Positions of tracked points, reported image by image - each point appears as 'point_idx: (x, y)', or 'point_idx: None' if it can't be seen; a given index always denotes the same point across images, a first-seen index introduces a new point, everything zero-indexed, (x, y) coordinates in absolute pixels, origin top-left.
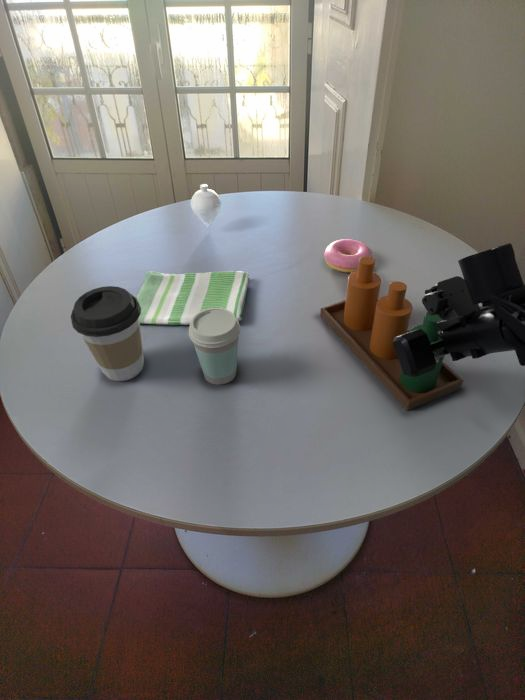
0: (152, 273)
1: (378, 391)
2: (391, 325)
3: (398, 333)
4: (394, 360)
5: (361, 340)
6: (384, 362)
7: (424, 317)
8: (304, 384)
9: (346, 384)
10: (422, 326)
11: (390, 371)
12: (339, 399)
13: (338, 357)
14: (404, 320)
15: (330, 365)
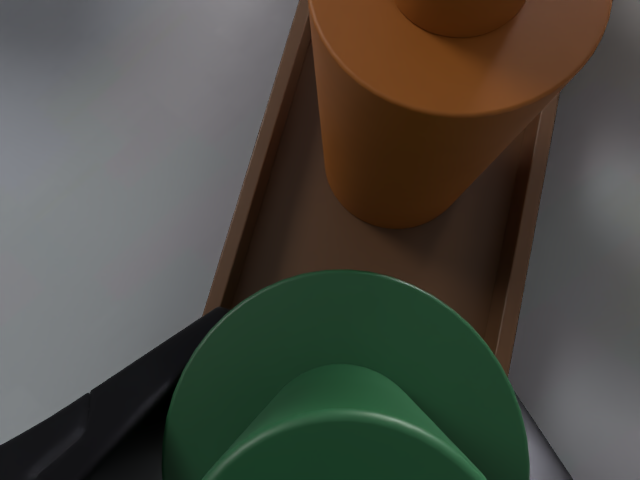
0: None
1: (184, 300)
2: (335, 110)
3: (377, 173)
4: (364, 231)
5: None
6: (321, 212)
7: (260, 421)
8: (22, 97)
9: (127, 193)
10: (268, 405)
11: (296, 264)
12: (48, 229)
13: (220, 75)
14: (418, 140)
15: (164, 87)
